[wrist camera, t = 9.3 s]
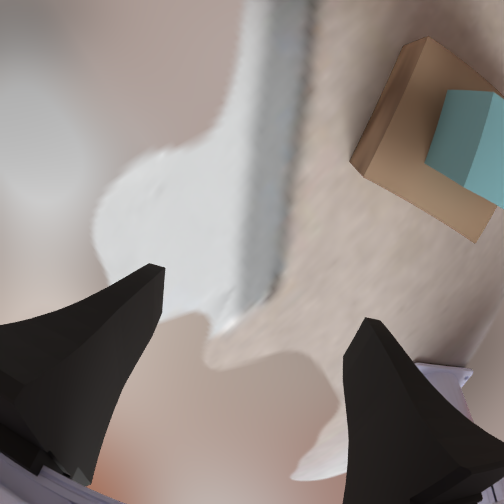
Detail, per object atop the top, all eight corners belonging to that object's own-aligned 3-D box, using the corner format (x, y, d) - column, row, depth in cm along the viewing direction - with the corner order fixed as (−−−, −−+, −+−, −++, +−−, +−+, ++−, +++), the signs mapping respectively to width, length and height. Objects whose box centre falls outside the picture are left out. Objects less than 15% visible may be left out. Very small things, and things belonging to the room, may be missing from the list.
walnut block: (447, 217, 18) (475, 243, 14) (348, 160, 17) (363, 177, 14) (496, 117, 14) (533, 126, 11) (401, 46, 13) (428, 36, 10)
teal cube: (481, 191, 13) (523, 221, 9) (424, 163, 13) (463, 186, 9) (504, 125, 11) (552, 139, 8) (447, 89, 11) (493, 91, 7)
